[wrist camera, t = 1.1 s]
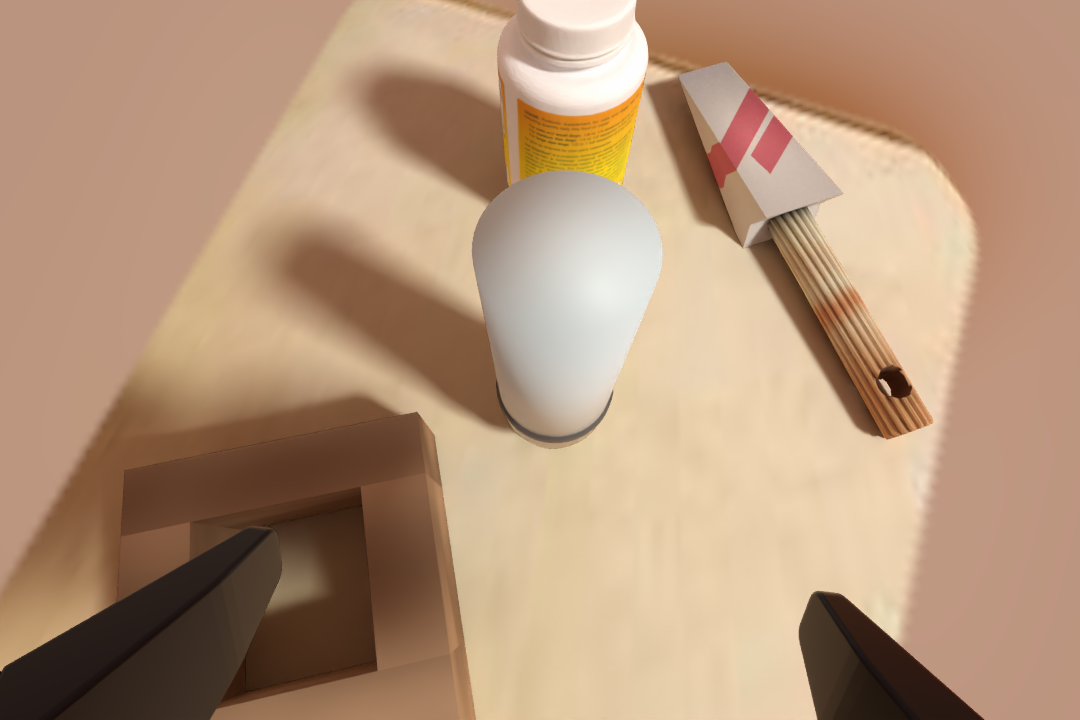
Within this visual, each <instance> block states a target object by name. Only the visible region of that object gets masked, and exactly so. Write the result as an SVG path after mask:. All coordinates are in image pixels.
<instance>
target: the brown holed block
mask: <svg viewBox="0 0 1080 720" xmlns="http://www.w3.org/2000/svg"><path fill="white" fill-rule="evenodd" d="M359 505H362V507H363V518H364V528H365V539H366V550H367V561H368V571H369V582H370V593H371V604H372V614H373V625H374V636H375V647H376V657H377V661H376V662H372V663H368V664H364V665H359V666H355V667H351V668H347V669H342V670H338V671H334V672H330V673H325V674H321V675H317V676H312V677H308V678H304V679H300V680H295V681H291V682H287V683H283V684H278V685H274V686H270V687H266V688H261V689H257V690H253V691H248V692H246V686H245V657H244V659H243V661H242V663H241V665H240V667H239V669H238V671H237V673H236V675H235V677H234V678H233V680H232V682H231V684H230V686H229V687H228V689H227V691H226V693H225V694H224V696H223V698H222V700H221V701H220V703H219V705H218V707H217V708H216V710H215V712H214V714H213V715H212V717H211V719H210V720H476V718H475V712H474V705H473V698H472V691H471V684H470V677H469V670H468V663H467V656H466V650H465V643H464V636H463V629H462V622H461V615H460V608H459V601H458V595H457V588H456V581H455V574H454V567H453V560H452V553H451V546H450V540H449V533H448V526H447V519H446V512H445V505H444V498H443V491H442V484H441V478H440V471H439V464H438V457H437V450H436V443H435V436H434V434H433V433H432V431H431V430H430V429H429V427H428V426H427V425H426V423H425V422H424V421H423V419H422V418H421V417H420V415H419V414H418V412H415V413H410V414H405V415H400V416H395V417H390V418H385V419H380V420H375V421H370V422H365V423H360V424H355V425H350V426H345V427H340V428H335V429H330V430H325V431H320V432H315V433H310V434H305V435H300V436H295V437H290V438H285V439H280V440H275V441H270V442H265V443H260V444H255V445H250V446H245V447H240V448H235V449H230V450H225V451H220V452H215V453H210V454H205V455H200V456H195V457H190V458H185V459H180V460H175V461H170V462H165V463H160V464H155V465H150V466H145V467H140V468H135V469H130V470H125V473H124V490H123V507H122V523H121V540H120V557H119V573H118V590H117V602H118V601H120V600H122V599H123V598H125V597H127V596H129V595H130V594H132V593H134V592H136V591H137V590H139V589H141V588H143V587H144V586H146V585H148V584H150V583H151V582H153V581H155V580H157V579H158V578H160V577H162V576H164V575H165V574H167V573H169V572H170V571H172V570H174V569H176V568H177V567H179V566H181V565H183V564H184V563H186V562H188V561H190V560H191V559H193V558H195V557H197V556H198V555H200V554H202V553H204V552H205V551H207V550H209V549H211V548H212V547H214V546H216V545H218V544H219V543H221V542H223V541H225V540H226V539H228V538H230V537H231V536H233V535H235V534H237V533H238V532H240V531H242V530H244V529H246V528H248V527H250V526H258V527H260V526H265V525H269V524H274V523H279V522H284V521H288V520H293V519H298V518H302V517H307V516H312V515H317V514H321V513H326V512H331V511H336V510H340V509H345V508H350V507H354V506H359Z"/></svg>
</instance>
